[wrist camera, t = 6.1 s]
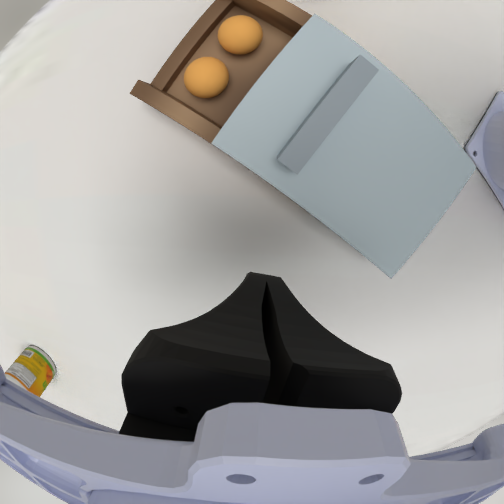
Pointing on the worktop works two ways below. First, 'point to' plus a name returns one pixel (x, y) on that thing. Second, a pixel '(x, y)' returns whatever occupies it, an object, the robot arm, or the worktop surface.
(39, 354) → the supplement bottle
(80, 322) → the worktop surface
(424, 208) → the lid
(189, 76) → the ball
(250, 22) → the ball
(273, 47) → the case
